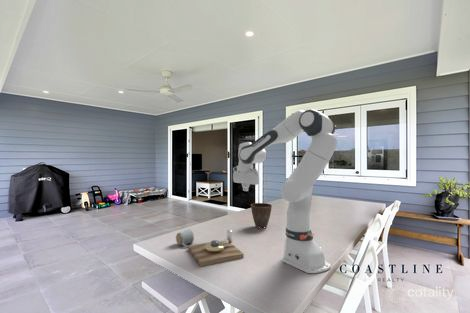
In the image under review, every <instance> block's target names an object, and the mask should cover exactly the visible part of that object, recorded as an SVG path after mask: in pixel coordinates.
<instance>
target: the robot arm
mask: <svg viewBox="0 0 470 313" xmlns="http://www.w3.org/2000/svg"><path fill="white" fill-rule="evenodd" d="M335 131H336V124H335V123H334V121H333V120H332V119H331V118H329V117H328V116H327V115H326V114H324V113H322V112H320V111H319V110H316V109H306V110H303V109H302V110H301V109H299V110H296V111H295V112H293V113H292V114H290V115H288V117H286V118H284V119H283V120H282V121H281V122H280V123H279V124H277V125H276V126H275V127H274V128H272V129H271V130H269V131H267V132H266V133H264V134H263V135H261V136H259V138H257V139H256V140H254V141H253V142H251V141H244V142H241V143H240V144H239V146H238V165H236V166H234V167H233V168H232V170H233V172H232V173H233V174H232V180H233V183H237V184H241V187H242V191H244V192H249V188H250V186H251V185H253V186H255V185H256V186H257V185H259V184H260V176H259V171H258V170H257V168H254V167H253V165H254V164H261V163H264V162H265V161H266V160H267V155H268V153H267V151H266V148H268V147H270V146H271V145H277V144H285V143H288V142H290V141H292V140H294V139H295V138H297V137H298V136H299V135H300V134H302V133H305V134H306V135H307V137H308V136H309V137H311V142H310V144H309V146H308V148H307V149H306V151H305V153H304V155H303V157H302V159H301V160H300V162H299V163H298V165H297V166H296V167H295V168H294V170H293V171H292V173H291V174H290V175H289V177H288V178H287V180H286V181H285V182H284V183H283V184H282V186H281V190H280V194H281V197H282V198H283V199H284V200H285V201H287V202H288V208H287V210H286V227H285V236H286V239H285V241H284V248H283V257H282V258H281V259H282V260H281V261H282V262H283V263H285V264H287V265H289V266H292V267H294V268H296V269H298V270H300V271H303V272H304V273H306V274H317V273H318V274H319V273H323V272H326V271H328V270H330V269H331V268H332V266H331V264H330V263H329V262H328V261H326V257H325V253H324V251H323V249H322V247H320V246H319V244H318V243H316V241H315V240H314V236H315V233H312V229H311V207H312V198H313V190H314V186H313V185H314V184H315V183H316V181H318V179H319V178H320V176H322V173H323V172H324V170H325V168H326V166H327V165H328V164H329V162H330V160H331V158H332V156H333V155H334V152H335V150H336V147H337V144H338V139H337V138H336V136H335V135H334V134H335Z"/></svg>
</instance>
